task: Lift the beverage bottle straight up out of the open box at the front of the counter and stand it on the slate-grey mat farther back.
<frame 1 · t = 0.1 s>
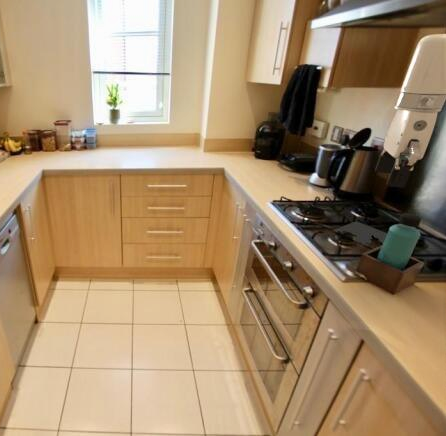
hand: (388, 179, 74), 31 cm above the worktop, tool pointing down, fingers open, 9 cm apart
mat: (364, 235, 110), on the worktop
open box: (383, 278, 89), on the worktop
beverage bottle: (382, 279, 89), resting in open box
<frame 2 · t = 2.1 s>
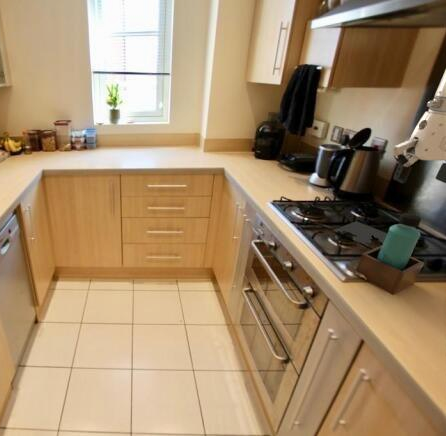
hand: (420, 181, 75), 29 cm above the worktop, tool pointing down, fingers open, 9 cm apart
nothing on the worktop moved.
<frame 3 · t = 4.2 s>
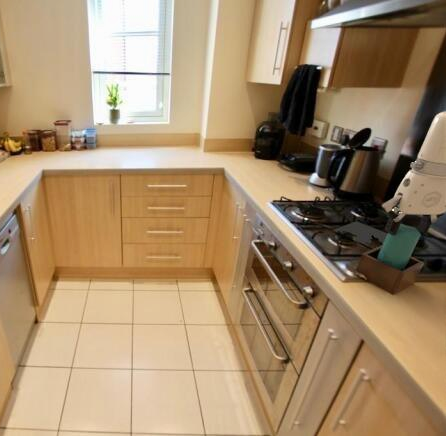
hand: (404, 232, 82), 15 cm above the worktop, tool pointing down, fingers closed on beverage bottle, 6 cm apart
beverage bottle: (382, 279, 89), resting in open box, touching gripper
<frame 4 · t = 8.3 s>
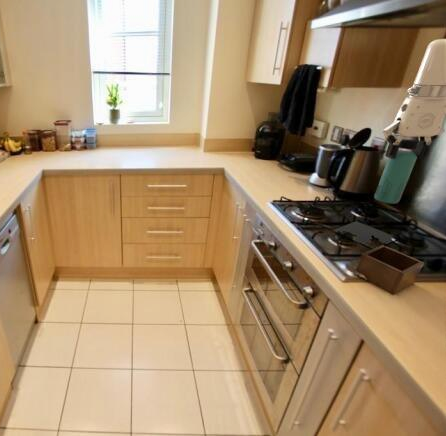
hand: (402, 156, 92), 29 cm above the worktop, tool pointing down, fingers closed on beverage bottle, 6 cm apart
beverage bottle: (383, 204, 99), point 14 cm above the worktop, touching gripper
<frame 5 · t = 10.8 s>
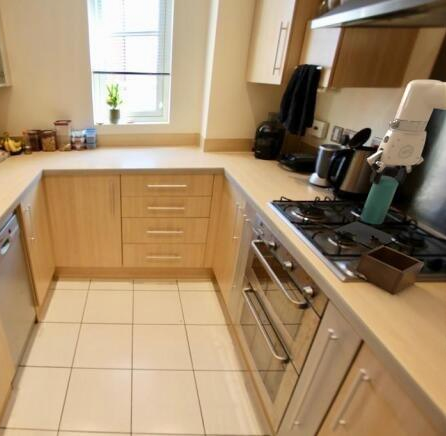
hand: (385, 182, 100), 20 cm above the worktop, tool pointing down, fingers closed on beverage bottle, 6 cm apart
beverage bottle: (369, 224, 107), point 4 cm above the worktop, touching gripper
when the fingers open (16 cm above the worktop, at t = 12.4 s): beverage bottle stays where it is, resting on mat.
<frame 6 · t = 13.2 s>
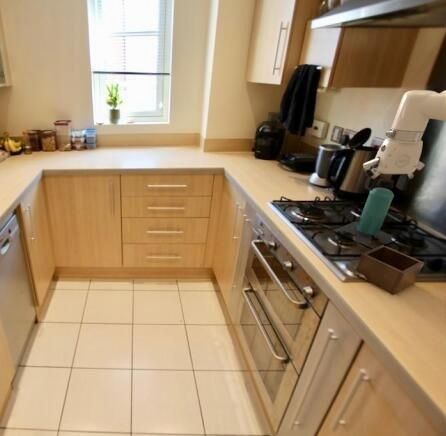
hand: (384, 188, 101), 18 cm above the worktop, tool pointing down, fingers open, 9 cm apart
beverage bottle: (365, 234, 109), resting on mat
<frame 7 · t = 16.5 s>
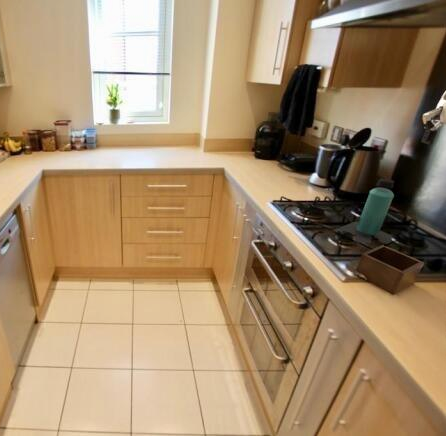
hand: (443, 143, 94), 32 cm above the worktop, tool pointing down, fingers open, 9 cm apart
nothing on the worktop moved.
at the end: beverage bottle inside the target area on the mat (0.1 cm from its centre), point 0.4 cm above the mat's base; beverage bottle tilted 0°; beverage bottle touching mat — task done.
